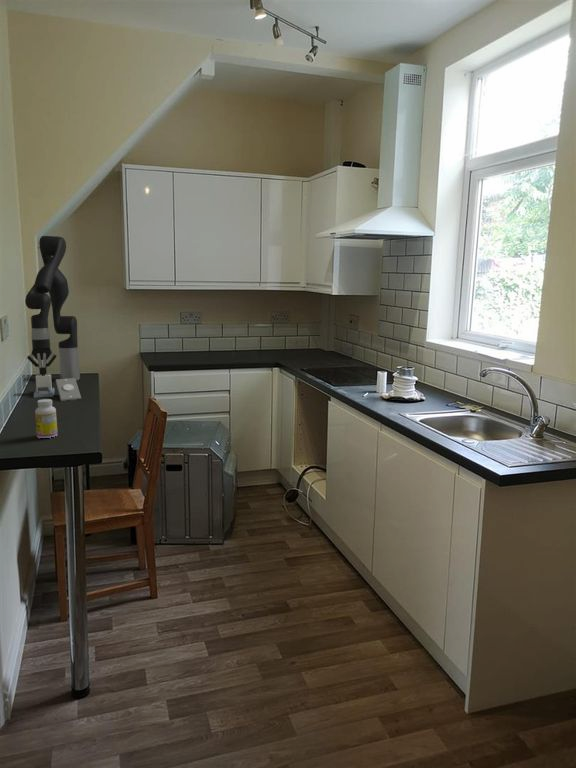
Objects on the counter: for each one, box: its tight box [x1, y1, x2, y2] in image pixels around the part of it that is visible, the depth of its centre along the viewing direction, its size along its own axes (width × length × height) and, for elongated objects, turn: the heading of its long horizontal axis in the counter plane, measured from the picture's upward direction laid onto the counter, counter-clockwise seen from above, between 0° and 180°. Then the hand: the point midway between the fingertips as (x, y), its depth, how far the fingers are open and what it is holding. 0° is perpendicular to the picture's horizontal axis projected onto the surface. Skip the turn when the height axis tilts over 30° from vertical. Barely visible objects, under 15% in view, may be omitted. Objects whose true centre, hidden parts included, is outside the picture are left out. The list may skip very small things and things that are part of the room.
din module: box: [35, 373, 53, 392], centre depth 273 cm, size 5×6×7 cm
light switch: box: [55, 378, 82, 402], centre depth 267 cm, size 8×6×14 cm
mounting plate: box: [33, 387, 56, 399], centre depth 274 cm, size 14×8×2 cm, turn 18°
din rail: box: [38, 387, 49, 394], centre depth 274 cm, size 14×4×3 cm, turn 18°
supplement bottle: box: [34, 398, 58, 439], centre depth 203 cm, size 7×7×13 cm
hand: (43, 375), depth 273 cm, fingers closed
